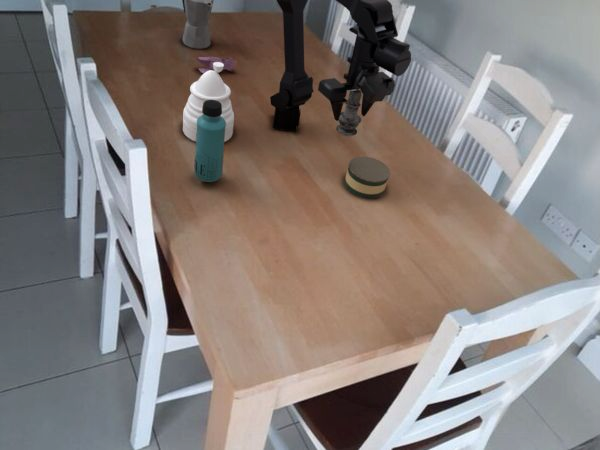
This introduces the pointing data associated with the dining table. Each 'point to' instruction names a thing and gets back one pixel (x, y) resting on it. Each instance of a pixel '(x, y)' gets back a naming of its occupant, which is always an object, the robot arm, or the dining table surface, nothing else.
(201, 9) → the coffeepot
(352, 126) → the grey stone figurine
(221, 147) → the beverage bottle
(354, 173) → the tin
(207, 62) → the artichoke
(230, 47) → the dining table surface
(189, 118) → the honey pot
